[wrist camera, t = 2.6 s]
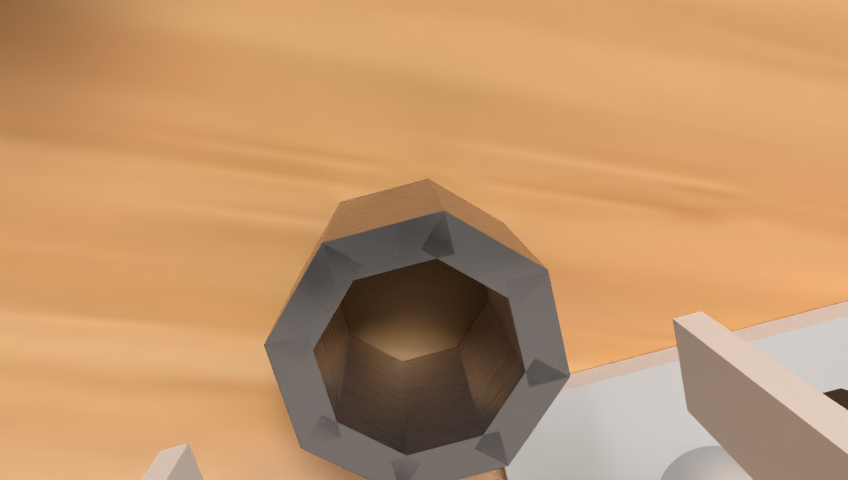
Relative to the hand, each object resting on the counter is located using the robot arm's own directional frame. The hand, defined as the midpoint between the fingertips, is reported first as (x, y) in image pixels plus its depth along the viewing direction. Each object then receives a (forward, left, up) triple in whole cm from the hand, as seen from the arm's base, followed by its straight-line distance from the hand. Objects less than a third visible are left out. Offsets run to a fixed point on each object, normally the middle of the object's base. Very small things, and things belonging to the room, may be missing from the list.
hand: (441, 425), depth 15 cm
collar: (0, 0, -10) cm, 10 cm away
